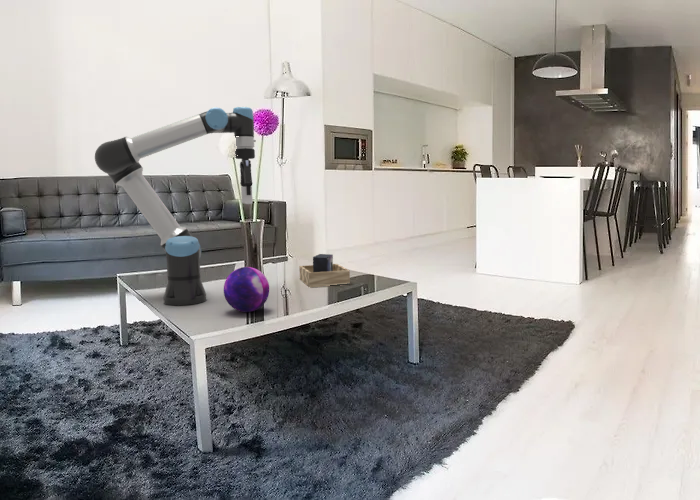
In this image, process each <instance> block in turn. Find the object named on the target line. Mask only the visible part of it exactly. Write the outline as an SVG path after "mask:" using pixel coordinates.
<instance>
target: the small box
mask: <svg viewBox="0 0 700 500" xmlns="http://www.w3.org/2000/svg"><path fill="white" fill-rule="evenodd" d="M333 257H334V256H333V254H329V253H328V254H327V253H319V254H317V255H315V256H312V265H313V272H327V271H333V264H334V263H333V262H334V261H333V259H334V258H333Z"/></svg>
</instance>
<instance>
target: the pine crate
mask: <svg viewBox="0 0 700 500" xmlns="http://www.w3.org/2000/svg"><path fill="white" fill-rule="evenodd" d="M298 271H299V280H300V281H301V282H302V281H303V282H304V284H305V285H306V286H307V287H308V288H309V287H310V288H309V289H311V288H322V287H323V286H326V287H331V286H330V285H337V284H347V283H350V284H351V279H350V278H351V275H350V274H351V273H350V272H351V271H350V270H349V269H348V268H345V267H343V266H342V265H339V264H338V263H333V271H327V272H313V264H309V265H299V270H298ZM303 282H302V283H303ZM323 288H324V287H323Z"/></svg>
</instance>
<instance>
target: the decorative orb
mask: <svg viewBox="0 0 700 500" xmlns="http://www.w3.org/2000/svg"><path fill="white" fill-rule="evenodd" d="M269 294H270V284H269V280H268V279H267V277H266V275H265V274H264V273H263V272H262V271H260V270H259V269H257V268H255V267H251V266H243V267H238V268H236V269H234V270H233V271H232V272H231V273H229V275H228V276H227V277H226V279H225V281H224V285H223V296H224V298H225V301H226V302H227V304H228V305H229V306H230V307H231V308H232V309H234V310H236V311H239V312H242V313H251V312H254V311H257V310H258V309H260V308H261V307H263V306H264V305H265V303H266V302H267V300H268V298H269V296H270V295H269Z"/></svg>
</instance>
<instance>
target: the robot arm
mask: <svg viewBox="0 0 700 500" xmlns="http://www.w3.org/2000/svg"><path fill="white" fill-rule="evenodd" d="M254 123H255V122H254V111H253V109H252V108H251V107H247V106H237V107H234V108H233V110H232V112H226V111H225V110H224V109H222V108H220V107H217V106H216V107H211V108H209V109H208V110H207V111H204V112H200V113H198V114H195V115H192V116H189V117H187V118H184V119H181V120H178V121H176V122H172V123H170V124H166V125H165V126H161V127H159V128H155V129H153V130H151V131H147V132H145V133H142V134H139V135H137V136H133V137H129V136H123V137H121V138H118V139H114V140H110V141H105V142H103V143H102V144H100V145H99V146H98V147H97V148H96V150H95V151H94V153H95V154H94V160H95V164H96V167H97V168H98V169H100V170H101V172H103V173H105V174H107V176H109V178H110V180H111V181H112V182H113V184H114V185H115V186H118V187H122V188H123V190H124V191H125V193H126V194H127V195H128V196H129V198H130V199H131V200H132V201H133V203H134V204H135V206H136V207H137V208H138V210H139V211H140V213H141V214H142V215H143V216H144V218H145V219H146V220H147V222H148V223H149V225H150V226H151V228H153V231H154V232H155V233H156V234H157V235H158V237H159V238H160V246H161V248H162V249H163V250H164V252H165V255H166V258H165V259H166V274H167V283H166V287H165V290H164V294H163V304H165V305H168V306H189V305H196V304H200V303H204V302H206V301H207V300H208V299H207V298H208V297H207V293H206V289H205V287H204V284H203V282H202V278H201V277H202V276H201V261H200V260H201V257H202V247H201V244H200V242H199V239H198V238H197V237H195V236H193V235H192V234H191V233H190V231H189V230H188V228H187V227H184V226H180V224H179V223H178V221H177V219H176V218H175V217H174V216H173V214H172V213H171V212H170V210H169V209H168V208H167V206H166V205H165V204H164V202H163V201H162V199H161V198H160V196H159V195H158V193H156V190H154V188H153V187H152V186H151V184H150V183H149V181H148V180H147V179H146V178H145V176H144V174H143V171H144V167H143V166H142V165H141V163H140V162H139V161H140V159H143V158H145V157H149V156H151V155H154V154H157V153H159V152H162V151H166V150H168V149H170V148H173V147H177V146H179V145H182V144H184V143H186V142H190V141H192V140H196V139H198V138H200V137H203V136H205V135H208V134H225V133H226V134H234V135H233V136H235V138H236V146H237V149H236V151H235V150H234V158H235V159H237V160H241V161H240V162H239V168H240V170H239V172H240V183H239V184H240V190H241V191H240V194H241V203H242V204H244V205H252V204H253V178H252V163H251V160H254V159H255V158H256V155H255V152H256V151H255V149H254V147H255V143H256V139H255V133H254V131H255V127H254V126H255V125H254ZM236 136H239V137H236ZM235 154H236V155H235ZM237 155H238V156H237ZM235 156H236V157H235Z"/></svg>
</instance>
